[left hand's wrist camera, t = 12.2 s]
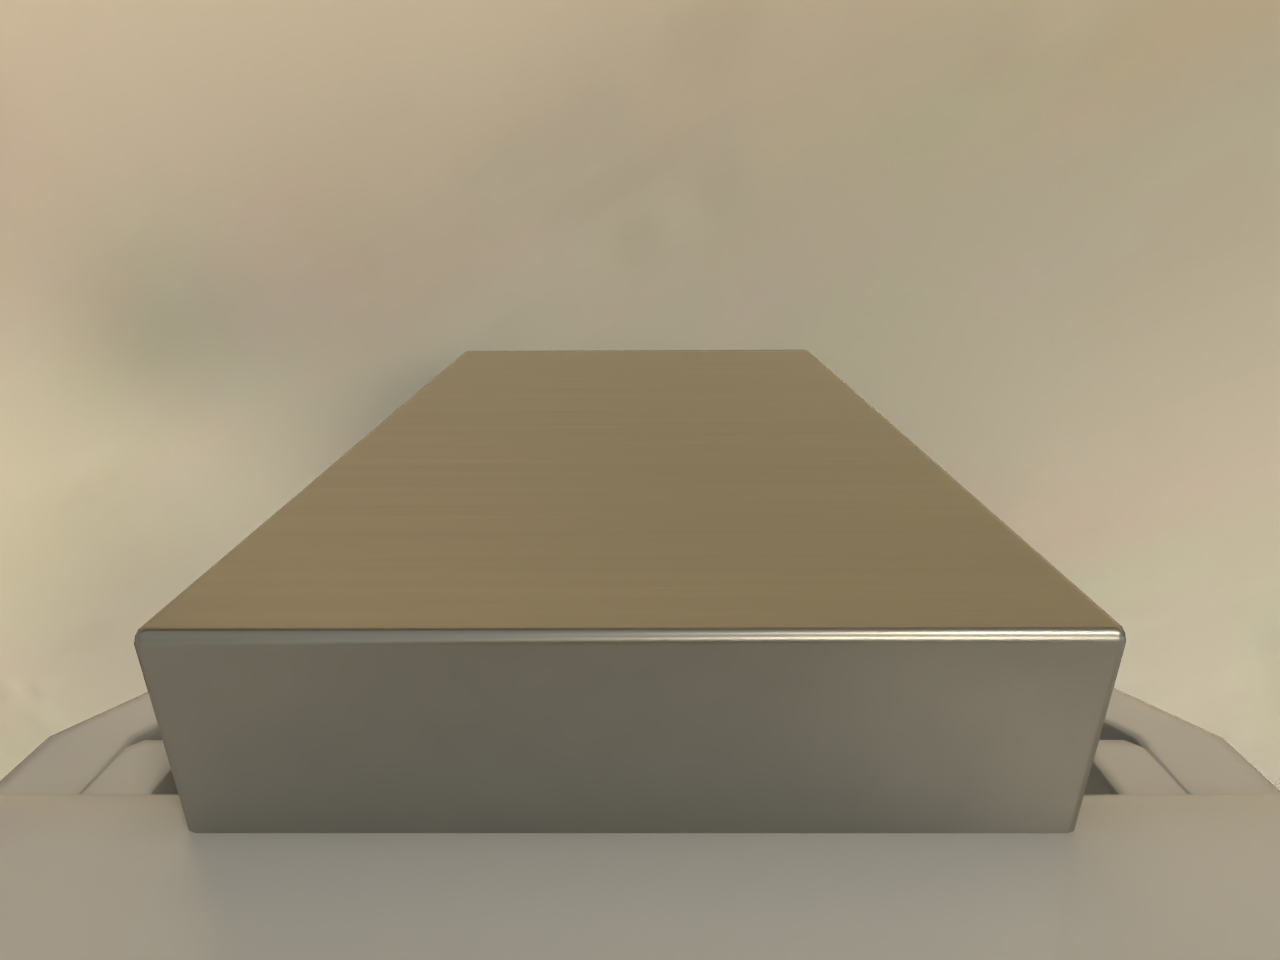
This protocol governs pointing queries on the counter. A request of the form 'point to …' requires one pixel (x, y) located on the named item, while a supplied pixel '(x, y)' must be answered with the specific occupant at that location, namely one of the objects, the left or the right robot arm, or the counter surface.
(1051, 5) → the counter surface
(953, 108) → the counter surface
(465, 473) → the box
